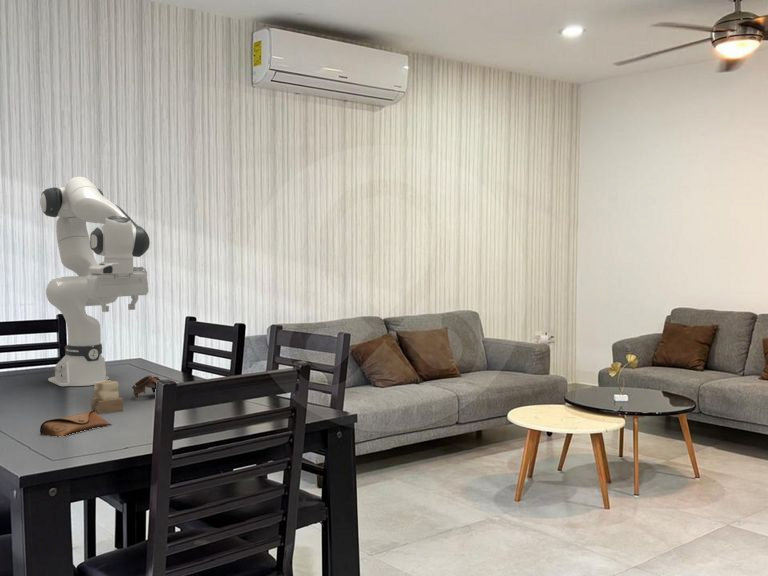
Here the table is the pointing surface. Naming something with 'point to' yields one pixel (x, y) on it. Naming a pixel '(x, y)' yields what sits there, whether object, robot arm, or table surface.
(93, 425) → the sunglasses case
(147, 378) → the brown piece
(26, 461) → the table surface
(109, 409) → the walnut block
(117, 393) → the beech block
